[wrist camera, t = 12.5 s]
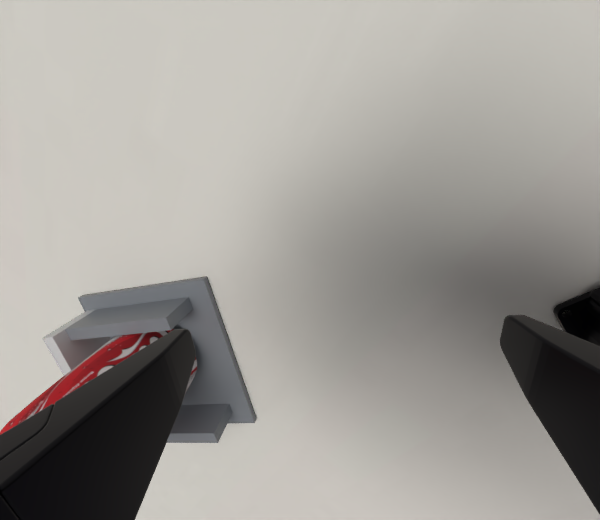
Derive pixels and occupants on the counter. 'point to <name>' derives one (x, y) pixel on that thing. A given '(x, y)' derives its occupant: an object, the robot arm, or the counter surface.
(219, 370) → the tray
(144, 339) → the soda can
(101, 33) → the counter surface
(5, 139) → the counter surface
